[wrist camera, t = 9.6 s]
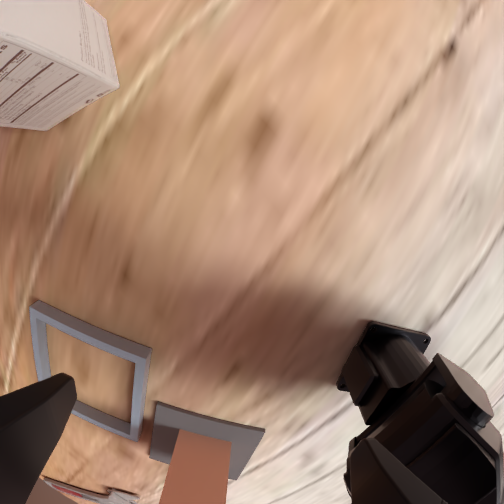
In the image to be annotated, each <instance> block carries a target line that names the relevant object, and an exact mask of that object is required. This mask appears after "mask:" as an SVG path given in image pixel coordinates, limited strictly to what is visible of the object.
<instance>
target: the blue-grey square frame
mask: <svg viewBox="0 0 504 504" xmlns="http://www.w3.org/2000/svg"><path fill="white" fill-rule="evenodd" d="M29 311H30V324H31V334H32V343H33V351H34V358H35V365H36V371H37V376H38V382H39V381H42V380H44V379H47V378H49V377H51V372H50V365H49V356H48V346H47V334H46V323H47V324H49V325H51V326H53V327H55V328H57V329H58V330H60V331H62V332H65V333H67V334H69V335H71V336H73V337H75V338H77V339H79V340H81V341H83V342H86V343H88V344H90V345H92V346H95V347H97V348H99V349H101V350H104V351H106V352H109V353H111V354H113V355H116V356H118V357H121V358H123V359H126V360H128V361H131V362H134V363H136V364H135V374H134V385H133V397H132V411H131V424H130V423H127V422H125V421H122V420H120V419H117V418H115V417H113V416H110V415H108V414H106V413H103V412H101V411H99V410H97V409H94V408H92V407H90V406H88V405H86V404H84V403H82V402H80V401H78V400H76V403H75V405H74V407H73V409H72V412H71V413H72V414H74V415H76V416H78V417H80V418H82V419H84V420H86V421H88V422H90V423H92V424H94V425H97V426H99V427H101V428H103V429H106V430H108V431H110V432H113V433H115V434H118V435H120V436H122V437H125V438H128V439H130V440H133V441H135V442H138V440H139V438H140V435H141V433H142V424H143V414H144V405H145V396H146V388H147V381H148V373H149V366H150V360H151V353H152V348H149V347H146V346H143V345H140V344H138V343H135V342H132V341H130V340H127V339H125V338H122V337H119V336H117V335H114V334H112V333H110V332H107V331H105V330H102V329H100V328H98V327H95V326H93V325H91V324H88V323H86V322H84V321H81V320H79V319H77V318H75V317H73V316H71V315H68V314H66V313H64V312H62V311H60V310H58V309H56V308H54V307H52V306H50V305H48V304H46V303H44V302H42V301H40V300H38V301H37V302H35V303H34V304H32V305H31V306H29Z"/></svg>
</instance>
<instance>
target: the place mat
mask: <svg viewBox="0 0 504 504" xmlns="http://www.w3.org/2000/svg"><path fill="white" fill-rule="evenodd" d="M180 429H182V430H185V431H189V432H192V433H196V434H200V435H204V436H208V437H212V438H216V439H220V440H225V441H229V442H232V443H231V453H230V463H229V473H228V479H233V480H237V479H238V477H239V476H240V474H241V472H242V471H243V469H244V467H245V466H246V464H247V463H248V461H249V459H250V458H251V456H252V454H253V452H254V451H255V449H256V447H257V446H258V444H259V442H260V440H261V439H262V437H263V435H264V433H265V429H261V428H256V427H251V426H246V425H241V424H237V423H232V422H228V421H224V420H220V419H216V418H212V417H208V416H204V415H201V414H197V413H193V412H190V411H187V410H183V409H180V408H177V407H173V406H170V405H167V404H164V403H161V402H157V406H156V413H155V419H154V426H153V433H152V441H151V448H150V457H149V458H151V459H154V460H157V461H160V462H163V463H167V464H170V462H171V459H172V455H173V451H174V448H175V444H176V441H177V437H178V434H179V430H180Z"/></svg>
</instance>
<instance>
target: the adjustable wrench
mask: <svg viewBox="0 0 504 504" xmlns="http://www.w3.org/2000/svg"><path fill="white" fill-rule="evenodd" d="M43 481H44V482H45V483H47V484H48V485H49V486H51V487H52V488H53V489H55V490H58V491H61V492H63V493H66V494H69V495H72V496H75V497H78V498H82V499H85V500H89V501H92V502H96V503H100V504H138V503H136V502H135V501H133V500H135V499H140V497H138V496H134V495H131V494H128V493H124V492H120V491H118V490H116V489H114V488H113V489H112V490H110V489H108V490H107V491H108V492H109V493H110V494H109V495H108V496H105V495H99V494H96V493H92V492H88V491H85V490H82V489H78V488H75V487H72V486H69V485H66V484H63V483H60V482H57V481H54V480H51V479H48V478H44V480H43Z"/></svg>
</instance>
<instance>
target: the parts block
mask: <svg viewBox="0 0 504 504" xmlns="http://www.w3.org/2000/svg"><path fill="white" fill-rule="evenodd" d="M231 443H232V442H229V441H225V440H220V439H216V438H212V437H208V436H204V435H200V434H196V433H192V432H189V431H185V430H182V429H180V430H179V434H178V437H177V441H176V444H175V448H174V451H173V455H172V459H171V462H170V466H169V469H168V473H167V476H166V480H165V484H164V487H163V491H162V495H161V498H160V502H159V504H226V494H227V483H228V473H229V463H230V453H231Z"/></svg>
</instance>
